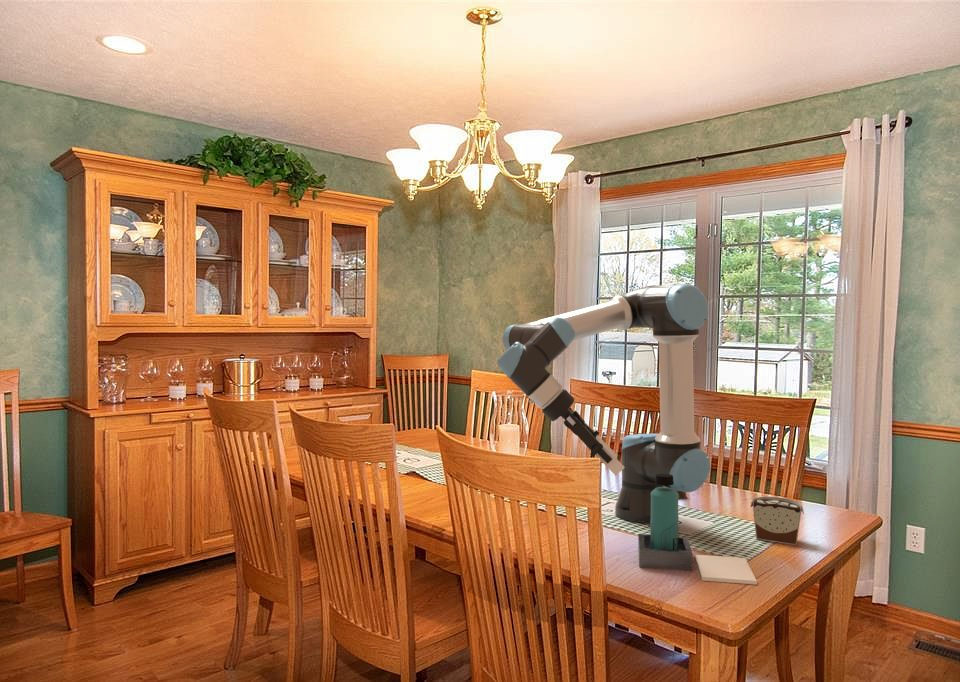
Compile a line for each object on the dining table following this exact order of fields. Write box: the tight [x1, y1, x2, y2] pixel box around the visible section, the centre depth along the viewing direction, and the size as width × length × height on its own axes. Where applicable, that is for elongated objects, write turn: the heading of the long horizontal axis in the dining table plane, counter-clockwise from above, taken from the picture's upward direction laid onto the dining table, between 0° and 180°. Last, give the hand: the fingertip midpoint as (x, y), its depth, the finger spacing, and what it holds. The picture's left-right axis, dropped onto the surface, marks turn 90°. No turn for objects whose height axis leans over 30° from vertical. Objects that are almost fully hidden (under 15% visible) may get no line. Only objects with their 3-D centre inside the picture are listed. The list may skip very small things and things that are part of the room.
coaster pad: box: [694, 554, 758, 585], centre depth 152 cm, size 14×11×1 cm
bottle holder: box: [637, 533, 693, 572], centre depth 159 cm, size 11×11×4 cm
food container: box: [750, 496, 805, 546], centre depth 174 cm, size 12×6×10 cm, turn 59°
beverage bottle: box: [649, 473, 680, 550], centre depth 158 cm, size 6×7×20 cm
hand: (616, 465), depth 159 cm, fingers open, 13 cm apart
